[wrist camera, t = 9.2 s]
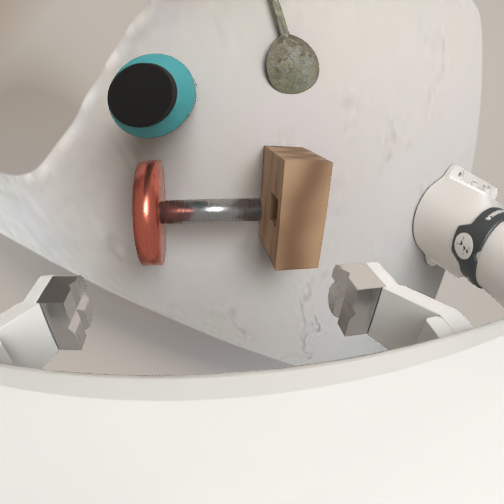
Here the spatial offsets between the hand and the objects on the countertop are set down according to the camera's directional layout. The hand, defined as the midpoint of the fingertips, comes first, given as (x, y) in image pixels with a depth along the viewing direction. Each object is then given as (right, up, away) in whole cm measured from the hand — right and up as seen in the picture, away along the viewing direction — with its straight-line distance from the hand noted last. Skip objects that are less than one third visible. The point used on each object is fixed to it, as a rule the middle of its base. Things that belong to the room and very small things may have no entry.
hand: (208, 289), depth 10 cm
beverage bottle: (-8, +19, +23) cm, 31 cm away
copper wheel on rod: (-5, +8, +28) cm, 29 cm away
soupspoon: (+4, +30, +20) cm, 36 cm away
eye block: (+5, +9, +30) cm, 32 cm away
